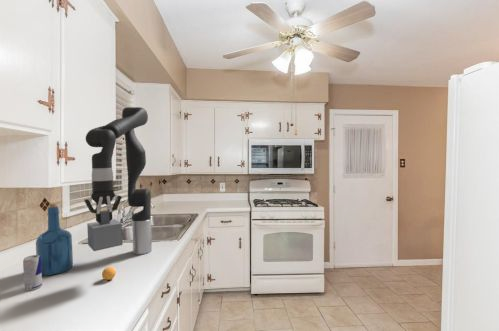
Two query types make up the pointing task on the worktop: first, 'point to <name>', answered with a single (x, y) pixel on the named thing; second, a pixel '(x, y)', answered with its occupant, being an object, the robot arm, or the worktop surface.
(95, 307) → the worktop surface
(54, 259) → the wine bottle
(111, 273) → the ball
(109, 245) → the gray block with peg
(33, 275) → the energy drink
